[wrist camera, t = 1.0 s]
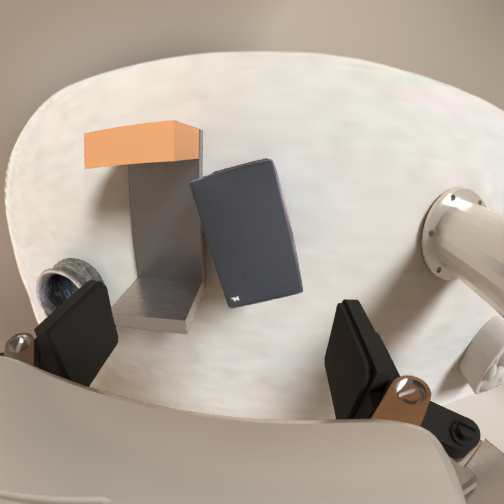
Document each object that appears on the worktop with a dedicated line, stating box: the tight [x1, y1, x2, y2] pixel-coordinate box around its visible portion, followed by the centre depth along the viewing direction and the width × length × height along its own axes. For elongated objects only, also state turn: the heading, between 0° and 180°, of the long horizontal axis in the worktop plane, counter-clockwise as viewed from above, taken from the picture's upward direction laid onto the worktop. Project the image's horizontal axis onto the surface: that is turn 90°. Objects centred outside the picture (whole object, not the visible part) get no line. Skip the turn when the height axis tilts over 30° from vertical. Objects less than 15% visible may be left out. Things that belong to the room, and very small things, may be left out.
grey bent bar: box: [111, 129, 206, 334], centre depth 25 cm, size 8×18×10 cm, turn 179°
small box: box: [189, 158, 303, 309], centre depth 25 cm, size 11×6×10 cm, turn 15°
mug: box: [36, 258, 104, 317], centre depth 29 cm, size 10×12×10 cm
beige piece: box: [459, 316, 504, 394], centre depth 32 cm, size 10×13×9 cm
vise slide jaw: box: [84, 121, 199, 169], centre depth 22 cm, size 8×3×8 cm, turn 89°
